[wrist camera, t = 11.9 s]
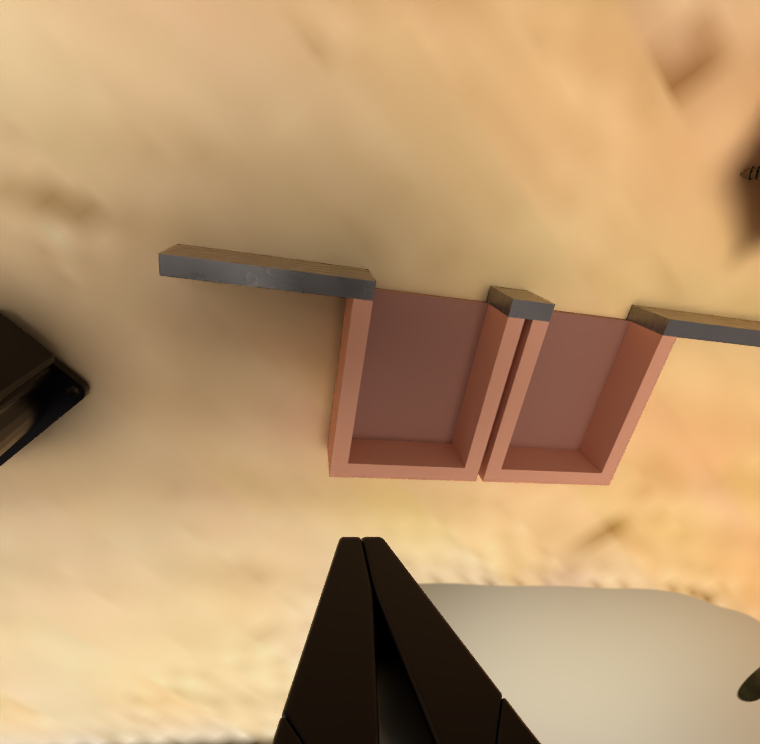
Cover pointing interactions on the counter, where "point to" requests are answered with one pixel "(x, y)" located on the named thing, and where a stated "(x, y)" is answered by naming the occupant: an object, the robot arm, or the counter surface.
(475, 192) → the counter surface
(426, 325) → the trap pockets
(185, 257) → the lane rails
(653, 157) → the counter surface
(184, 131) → the counter surface
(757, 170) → the game die
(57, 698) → the counter surface
